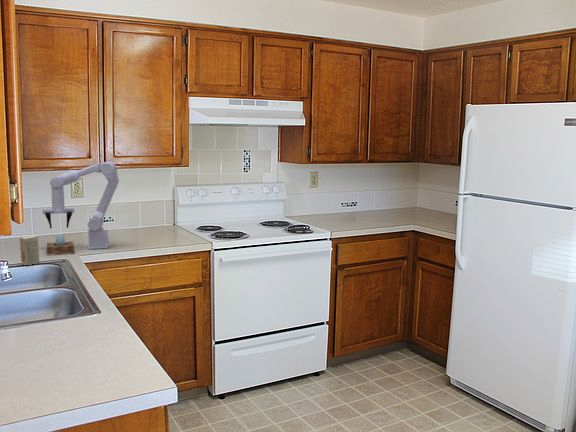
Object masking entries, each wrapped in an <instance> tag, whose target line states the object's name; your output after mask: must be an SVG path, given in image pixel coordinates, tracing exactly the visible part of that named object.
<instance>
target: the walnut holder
mask: <svg viewBox="0 0 576 432" xmlns="http://www.w3.org/2000/svg"><path fill="white" fill-rule="evenodd" d="M46 253H47V256H58V255H59V256H60V255H61V256H62V255H73V254H75V253H76V252H75V244H74V241H65V245H61V246H56V241H55V242H46Z"/></svg>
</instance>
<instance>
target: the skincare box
mask: <svg viewBox="0 0 576 432" xmlns="http://www.w3.org/2000/svg"><path fill="white" fill-rule="evenodd" d="M38 239H39V238H38V236H36V235H28V236H23V237H19V245H20V259H21V260H20V261H21V265H22V264H24V265H23V266H25V265H29V266H33V265H32V264H34V265H38V263H39V264H40V252H39V250H40V249H39V240H38Z"/></svg>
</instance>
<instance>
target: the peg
mask: <svg viewBox="0 0 576 432" xmlns="http://www.w3.org/2000/svg"><path fill="white" fill-rule="evenodd" d="M65 238H66V237H65V235H56V236H55V242H56V246H61V245H65V242H66V240H65Z"/></svg>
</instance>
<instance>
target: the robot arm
mask: <svg viewBox="0 0 576 432" xmlns="http://www.w3.org/2000/svg"><path fill="white" fill-rule="evenodd" d="M92 173H98V174H100V173H101V174H102V175H103V176H104V177H105V178H106V180H107V184H106V186H105V189H104V191H103V194H102V196H101V198H100V200H99V203H98V205H97V207H96V210H95V211H94V213H93V214H92V217H91V218H90V219H89V220H88V221H87V227H88V231H87V232H88V233H87V234H88V245H87V248H88V250H95V249H108V248H109V243H110V242H109V231H108V229H104V228H103V225H104V219H105V218H104V217H105V216H106V213H107V210H108V207H109V205H110V203H111V202H112V199H113V197H114V194H115V193H116V189H117V187H118V186H119V182H120V178H119V174H118V168H117V166H116V164H115V163H114V162H112V161H110V160H108V161H105V162H100V163H95V164H92V165H89V166H87V167H85V168H82V169H80V170H75V169H74V170H73V169H72V170H71V169H69V170H67V172H64V173H62V174H61V173H58V175H55V176H53V177H51V179H50V180H49V185H50V188H51V189H50V190H51V191H50V193H51V208H49V209H48V208H47V209H42V215H44V216H45V218H46V219H47V221H48V224H49V229H53V228H52V218H51V216H52V214H66V228H69V225H70V221H71V218H72V216H73V214H75V208H66V207H65V190H64V186H67V185H71V184H73V183H75V182H78V181H79V179H80V178H82V177H83V176H86V175H90V174H92Z"/></svg>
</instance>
